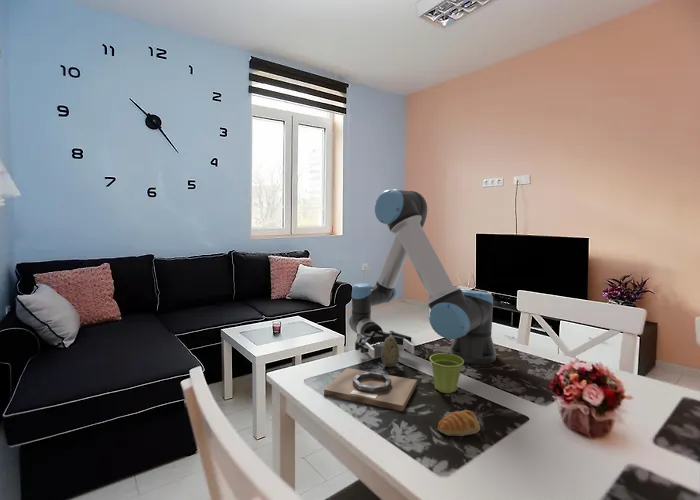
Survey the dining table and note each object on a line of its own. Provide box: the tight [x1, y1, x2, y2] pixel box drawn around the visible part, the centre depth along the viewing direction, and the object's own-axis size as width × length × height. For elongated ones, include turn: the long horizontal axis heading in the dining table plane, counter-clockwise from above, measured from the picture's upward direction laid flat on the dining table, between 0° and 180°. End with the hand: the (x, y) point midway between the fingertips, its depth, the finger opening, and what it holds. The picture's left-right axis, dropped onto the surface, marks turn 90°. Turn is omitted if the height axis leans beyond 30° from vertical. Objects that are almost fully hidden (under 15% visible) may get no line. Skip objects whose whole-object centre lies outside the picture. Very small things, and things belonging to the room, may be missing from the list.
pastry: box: [437, 409, 481, 437], centre depth 89 cm, size 9×7×4 cm
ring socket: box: [353, 371, 391, 394], centre depth 108 cm, size 10×10×2 cm
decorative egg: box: [380, 336, 400, 368], centre depth 125 cm, size 6×6×10 cm
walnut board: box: [323, 367, 418, 412], centre depth 108 cm, size 22×16×2 cm
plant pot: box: [429, 352, 465, 394], centre depth 109 cm, size 9×9×9 cm
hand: (393, 351), depth 122 cm, fingers open, 13 cm apart
